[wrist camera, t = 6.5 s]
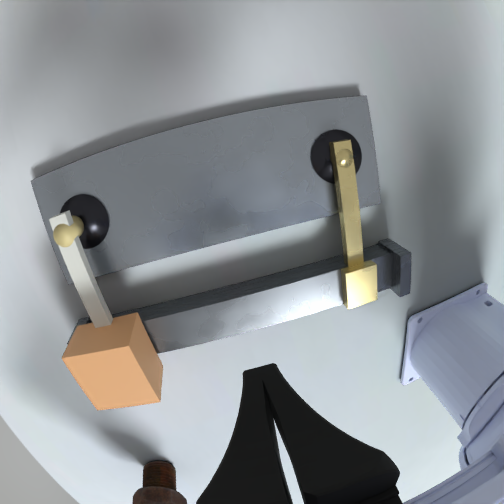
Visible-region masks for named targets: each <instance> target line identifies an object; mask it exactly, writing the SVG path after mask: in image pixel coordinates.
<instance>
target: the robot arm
mask: <svg viewBox="0 0 504 504" xmlns="http://www.w3.org/2000/svg"><path fill="white" fill-rule="evenodd" d="M487 288H488V285H487V284H486V283H485V282H483V283H481V284H479V285H477V286H475V287H473V288H471V289H469V290H467V291H465V292H463V293H461V294H459V295H457V296H455V297H453V298H451V299H448V300H446V301H444V302H442V303H440V304H438V305H435V306H433V307H431V308H429V309H426V310H424V311H422V312H419V313H417V314H415V315H413V316H411V317H410V318H409V320H408V325H407V335H406V344H405V353H404V361H403V368H402V375H401V384H402V385H407V384H409V383H411V382H413V381H415V380H417V379H419V378H421V379H422V380H423V381H424V382H425V383H426V385H427V386H428V387H429V388H430V390H431V391H432V392H433V393H434V395H435V396H436V397H437V398H438V400H439V401H440V402H441V403H442V405H443V406H444V407H445V408H446V410H447V411H448V412H449V414H450V415H451V416H452V417H453V419H454V420H455V421H456V422H457V424H458V425H459V426H460V428H461V429H462V432H461V433H460V434H459V436H458V437H457V438H458V439H459V441H460V442H461V444H462V447H461V449H460V452H459V463H460V468H461V471H459V472H458V473H456V474H455V475H453V476H451V477H450V478H448V479H446V480H445V481H443V482H441V483H440V484H438V485H436V486H435V487H433V488H431V489H429V490H427V491H426V492H424V493H422V494H420V495H418V496H416V497H414V498H412V499H410V500H408V501H406V502H404V503H402V501H401V500H400V498H399V496H398V494H399V491H398V489H397V487H396V482H397V480H398V478H399V475H400V471H399V469H398V468H397V466H396V465H395V463H394V462H393V461H392V460H391V459H390V458H389V457H388V456H387V455H386V454H385V453H384V452H383V451H381V450H378V449H376V448H374V447H371V446H369V445H367V444H365V443H363V442H361V441H359V440H357V439H355V438H353V437H351V436H350V435H348V434H346V433H345V432H343V431H341V430H340V429H338V428H337V427H335V426H334V425H332V424H331V423H330V422H328V421H327V420H326V419H324V418H323V417H322V416H320V415H319V414H318V413H317V412H316V411H315V410H313V409H312V408H311V407H310V406H309V405H308V404H307V403H306V402H305V401H304V400H303V399H302V398H301V397H300V396H299V395H298V394H297V393H296V392H295V391H294V389H293V388H292V387H291V386H290V385H289V383H288V382H287V381H286V380H285V378H284V377H283V375H282V374H281V372H280V371H279V369H278V367H277V365H276V364H274V363H272V364H268V365H265V366H261V367H257V368H253V369H249V370H245V371H244V372H243V389H242V397H241V402H240V408H239V413H238V417H237V421H236V424H235V428H234V431H233V434H232V437H231V440H230V443H229V445H228V448H227V450H226V452H225V455H224V457H223V459H222V461H221V463H220V465H219V467H218V469H217V471H216V473H215V474H214V476H213V478H212V480H211V481H210V483H209V484H208V486H207V487H206V489H205V490H204V492H203V493H202V494H201V496H200V497H199V499H198V500H197V502H196V504H293V502H292V499H291V495H290V492H289V489H288V485H287V482H286V478H285V475H284V472H283V468H282V464H281V459H280V454H279V448H278V442H277V436H276V430H275V425H274V421H275V423H276V426H277V428H278V430H279V433H280V435H281V438H282V440H283V443H284V445H285V447H286V450H287V452H288V455H289V457H290V460H291V462H292V465H293V468H294V472H295V475H296V478H297V482H298V485H299V488H300V491H301V494H302V498H303V501H304V504H498V503H499V502H501V503H502V504H504V305H503V304H502V303H500V302H499V301H497V300H496V299H495V298H493V297H492V296H490V295H489V294H488V293H487ZM273 418H274V419H273Z"/></svg>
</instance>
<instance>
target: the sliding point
mask: <svg viewBox="0 0 504 504" xmlns="http://www.w3.org/2000/svg"><path fill="white" fill-rule="evenodd" d="M49 221H50V224H51V227H52V230H53V237H54V240H55V242H56V243H57V244H58V246H59V248H60V251H61V254H62V256H63V259H64V261H65V263H66V266H67V268H68V271H69V273H70V275H71V278H72V280H73V282H74V285H75V287H76V289H77V291H78V293H79V296H80V298H81V300H82V302H83V304H84V306H85V308H86V310H87V312H88V314H89V316H90V318H91V320H92V322H93V323H88V324H84V325H79V326H77V328H76V330H75V332H74V334H73V336H72V338H71V340H70V342H69V344H68V346H67V348H66V350H65V352H64V354H63V356H62V360H63V361H64V363H65V364H66V366H67V368H68V369H69V371H70V372H71V374H72V375H73V377H74V378H75V380H76V381H77V383H78V384H79V386H80V387H81V388H82V390H83V391H84V393H85V394H86V395H87V397H88V398H89V400H90V401H91V402H92V404H93V405H94V406H95V408H96V409H97V410H105V409H114V408H122V407H130V406H137V405H144V404H151V403H157V402H160V400H161V386H162V373H163V365H162V363H161V361H160V359H159V357H158V355H157V353H156V351H155V349H154V347H153V345H152V342H151V340H150V338H149V336H148V334H147V332H146V330H145V328H144V325H143V323H142V321H141V319H140V316H139V314H138V312H136V313H132V314H128V315H123V316H119V317H115V318H113V317H112V315H111V313H110V311H109V309H108V307H107V304H106V302H105V300H104V298H103V296H102V293H101V291H100V289H99V287H98V284H97V282H96V280H95V277H94V275H93V272H92V270H91V267H90V265H89V262H88V260H87V257H86V255H85V252H84V250H83V247H82V244H81V242H80V239H79V237H80V236H81V235H82V233H83V231H84V224H83V222H82V220H81V219H80V218H79V217H77V216H71V213H70V210H69V211H66V212H63V213H61V214H58V215H55V216H53V217H52V218H50V219H49Z"/></svg>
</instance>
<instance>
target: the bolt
mask: <svg viewBox="0 0 504 504" xmlns="http://www.w3.org/2000/svg"><path fill="white" fill-rule="evenodd" d="M133 504H187V500H186V499H185V498H184V496H183V495H182V494H180V493H179V492H177V491H176V471H175V467H174V466H172V465H171V464H170V463H168V462H165V461H153V462H150V463H148V464H146V465H145V466H144V469H143V488H140V489H138V490H137V491H136V492H135V494H134V496H133Z"/></svg>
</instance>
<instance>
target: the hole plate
mask: <svg viewBox="0 0 504 504" xmlns="http://www.w3.org/2000/svg"><path fill="white" fill-rule="evenodd" d="M345 139H346V140H351V145H352V152H353V159H354V166H355V174H356V182H357V190H358V199H359V208H363V207H367V206H372V205H376V204H380V203H381V199H380V188H379V178H378V168H377V160H376V152H375V145H374V137H373V131H372V124H371V118H370V112H369V106H368V101H367V96H354V97H343V98H333V99H324V100H316V101H308V102H301V103H294V104H287V105H281V106H275V107H269V108H263V109H258V110H252V111H247V112H242V113H237V114H233V115H228V116H223V117H219V118H214V119H210V120H206V121H202V122H198V123H194V124H190V125H186V126H182V127H179V128H175V129H171V130H168V131H164V132H161V133H157V134H154V135H151V136H147V137H144V138H141V139H138V140H135V141H131V142H128V143H125V144H122V145H119V146H116V147H114V148H111V149H108V150H105V151H102V152H100V153H97V154H94V155H91V156H89V157H86V158H84V159H81V160H78V161H76V162H73V163H71V164H68V165H66V166H63V167H61V168H59V169H56V170H54V171H52V172H49V173H47V174H45V175H42V176H40V177H38V178H36V179H34V180H31V184H32V187H33V190H34V194H35V197H36V200H37V203H38V207H39V210H40V213H41V216H42V219H43V222H44V224H45V227H46V230H47V233H48V236H49V238H50V241H51V244H52V246H53V249H54V251H55V254H56V256H57V259H58V261H59V264H60V266H61V269H62V271H63V273H64V276H65V278H66V280H67V282H68V285H69V284H72V283H74V282H73V280H72V278H71V275H70V273H69V271H68V268H67V266H66V263H65V261H64V259H63V256H62V254H61V251H60V248H59V246H58V244H57V243H56V242H55V240H54V237H53V230H52V227H51V224H50V221H49V219H50V218H52V217H53V216H55V215H58V214H61V213H63V212H66V211H69V210H70V213H71V216H77V217H79V218H80V219H81V220H82V222H83V224H84V231H83V233H82V235H81V236H80V237H79V239H80V242H81V244H82V247H83V250H84V252H85V255H86V257H87V260H88V262H89V265H90V267H91V270H92V272H93V275H94V277H97V276H101V275H104V274H108V273H112V272H115V271H119V270H122V269H126V268H130V267H133V266H137V265H141V264H144V263H148V262H152V261H156V260H159V259H163V258H167V257H171V256H174V255H178V254H182V253H186V252H189V251H193V250H197V249H201V248H204V247H208V246H212V245H216V244H220V243H224V242H227V241H231V240H235V239H239V238H243V237H247V236H251V235H255V234H259V233H262V232H266V231H270V230H274V229H278V228H282V227H286V226H290V225H294V224H298V223H302V222H306V221H310V220H314V219H318V218H322V217H326V216H330V215H334V214H339V208H338V201H337V193H336V186H335V179H334V172H333V165H332V162H331V160H330V147H329V142H333V141H339V140H345Z"/></svg>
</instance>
